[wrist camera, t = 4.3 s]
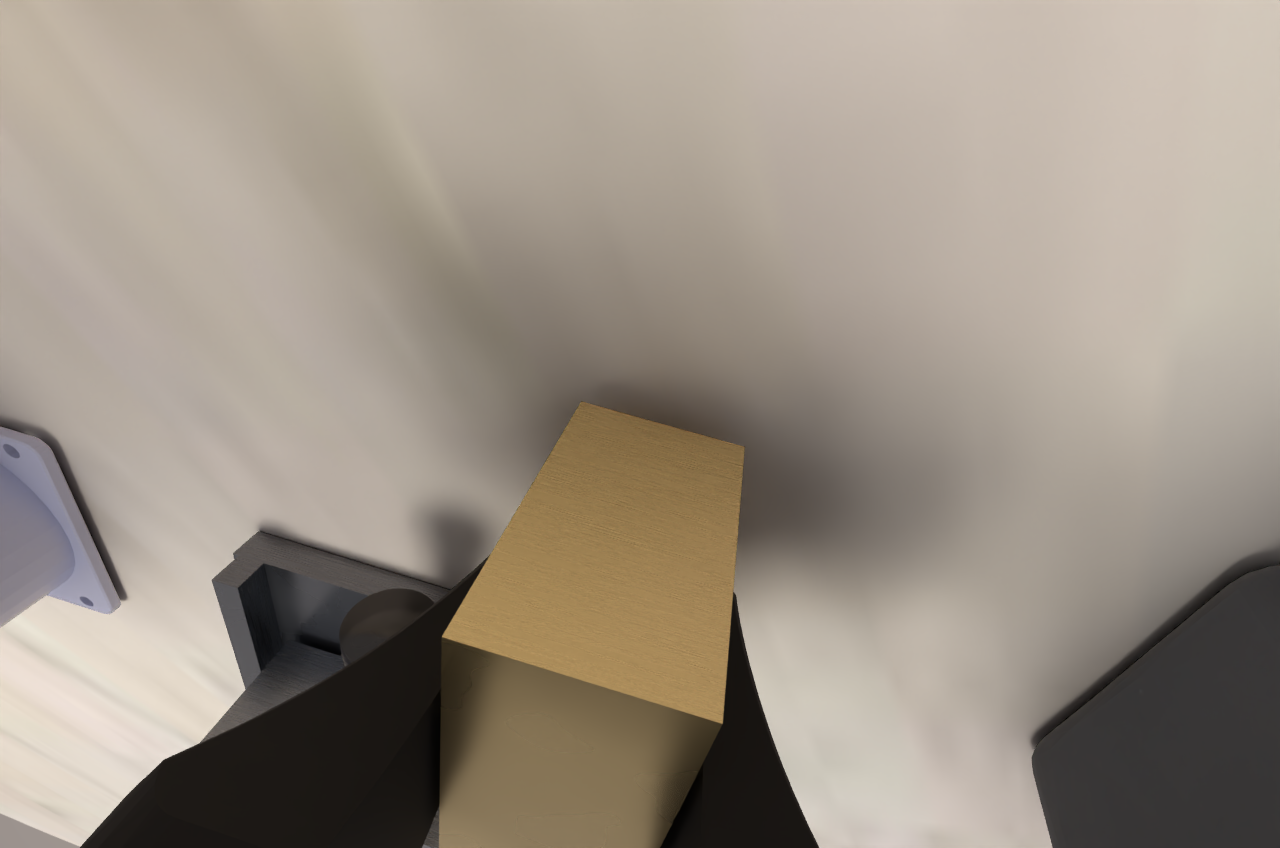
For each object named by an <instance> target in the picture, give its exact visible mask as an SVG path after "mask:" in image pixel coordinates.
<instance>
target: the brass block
mask: <svg viewBox="0 0 1280 848" xmlns="http://www.w3.org/2000/svg"><path fill="white" fill-rule="evenodd" d="M744 449H745V447H743V446H740V445H736V444H732V443H729V442H725V441H722V440H718V439H714V438H711V437H707V436H704V435H700V434H696V433H693V432H689V431H686V430H682V429H678V428H675V427H671V426H668V425H664V424H661V423H657V422H653V421H650V420H646V419H643V418H639V417H635V416H632V415H628V414H625V413H621V412H617V411H614V410H610V409H607V408H603V407H599V406H596V405H592V404H589V403H585V402H582V401H581V403H580V404H579V406H578V408H577V409H576V411H575V413H574V414H573V416H572V418H571V420H570V421H569V423H568V425H567V426H566V428H565V430H564V431H563V433H562V435H561V436H560V438H559V440H558V441H557V443H556V445H555V447H554V448H553V450H552V452H551V453H550V455H549V457H548V458H547V460H546V462H545V463H544V465H543V467H542V468H541V470H540V472H539V474H538V475H537V477H536V479H535V480H534V482H533V484H532V485H531V487H530V489H529V490H528V492H527V494H526V495H525V497H524V499H523V501H522V502H521V504H520V506H519V507H518V509H517V511H516V512H515V514H514V516H513V517H512V519H511V521H510V522H509V524H508V526H507V528H506V529H505V531H504V533H503V534H502V536H501V538H500V539H499V541H498V543H497V544H496V546H495V548H494V549H493V551H492V553H491V555H490V556H489V558H488V560H487V561H486V563H485V565H484V566H483V568H482V570H481V571H480V573H479V575H478V576H477V578H476V580H475V582H474V583H473V585H472V587H471V588H470V590H469V592H468V593H467V595H466V597H465V598H464V600H463V602H462V603H461V605H460V607H459V609H458V610H457V612H456V614H455V615H454V617H453V619H452V620H451V622H450V624H449V625H448V627H447V629H446V630H445V632H444V634H443V636H442V651H441V727H440V804H439V848H660V847H661V845H662V843H663V841H664V839H665V837H666V835H667V833H668V831H669V829H670V827H671V825H672V823H673V821H674V819H675V817H676V815H677V813H678V811H679V809H680V807H681V805H682V803H683V801H684V799H685V798H686V796H687V794H688V792H689V790H690V788H691V786H692V784H693V782H694V780H695V778H696V776H697V774H698V772H699V770H700V768H701V766H702V764H703V762H704V760H705V758H706V756H707V754H708V752H709V750H710V748H711V746H712V744H713V742H714V740H715V738H716V736H717V734H718V732H719V730H720V728H721V726H722V724H723V713H724V701H725V688H726V675H727V663H728V650H729V638H730V625H731V613H732V600H733V588H734V575H735V562H736V550H737V537H738V525H739V512H740V500H741V487H742V474H743V462H744Z"/></svg>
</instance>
